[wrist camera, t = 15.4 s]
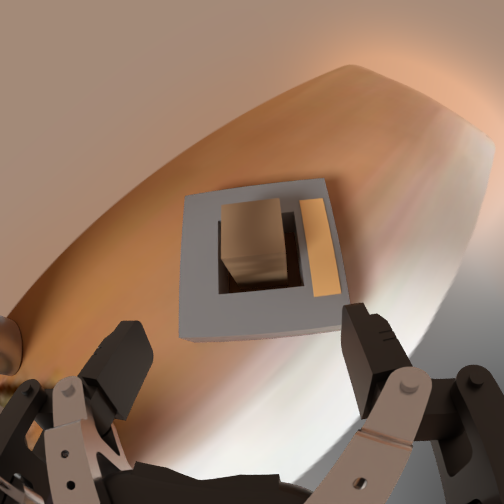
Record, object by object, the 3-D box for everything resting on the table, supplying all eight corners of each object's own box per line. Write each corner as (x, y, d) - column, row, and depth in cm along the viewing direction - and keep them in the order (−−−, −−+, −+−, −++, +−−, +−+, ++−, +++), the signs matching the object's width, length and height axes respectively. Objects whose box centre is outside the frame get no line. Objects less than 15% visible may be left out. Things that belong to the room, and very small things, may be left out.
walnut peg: (241, 290, 26) (221, 258, 19) (239, 247, 28) (221, 204, 21) (287, 285, 26) (285, 252, 19) (283, 243, 28) (279, 198, 21)
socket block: (195, 342, 25) (177, 337, 21) (196, 215, 31) (184, 194, 27) (343, 329, 23) (353, 322, 20) (321, 200, 29) (324, 176, 25)
